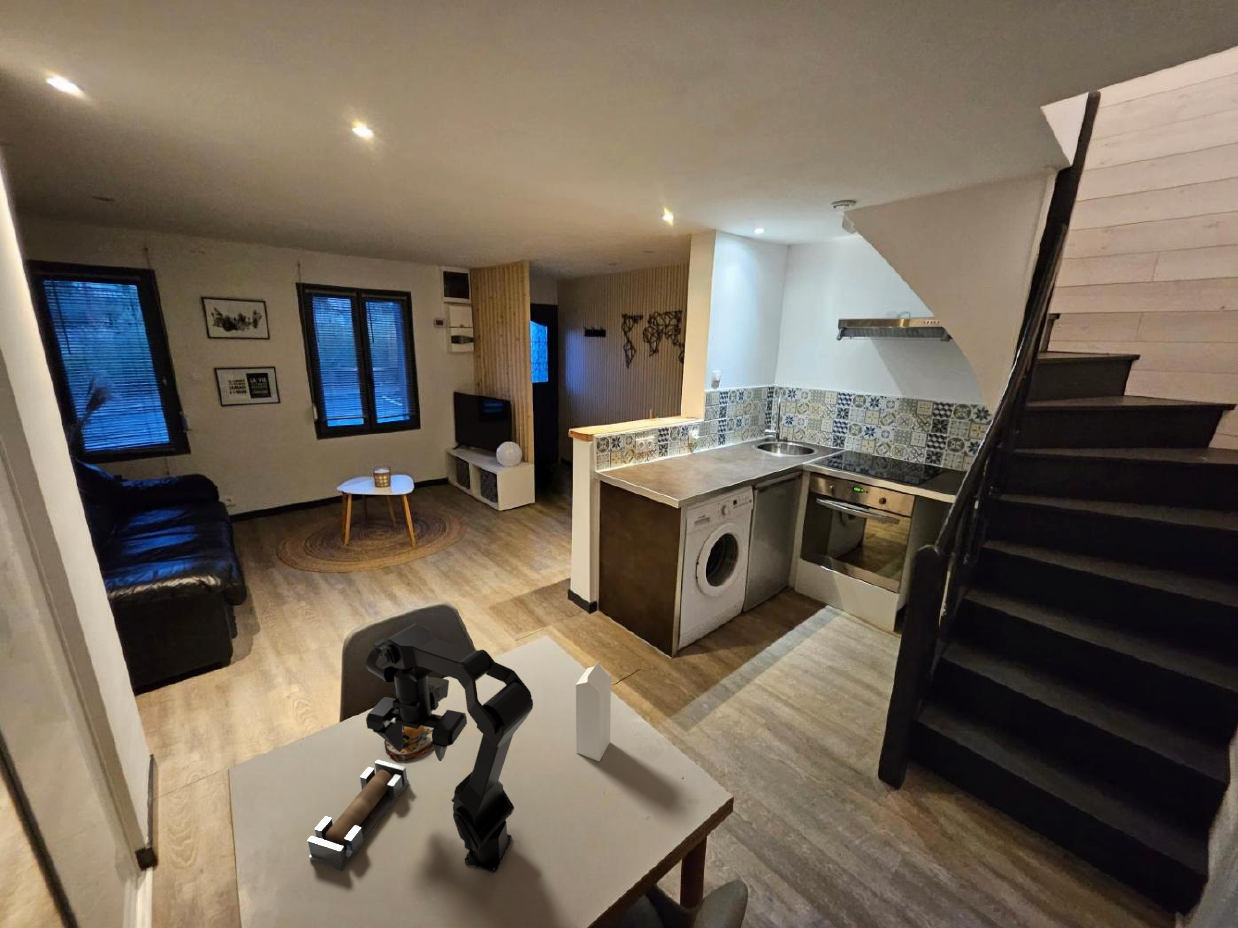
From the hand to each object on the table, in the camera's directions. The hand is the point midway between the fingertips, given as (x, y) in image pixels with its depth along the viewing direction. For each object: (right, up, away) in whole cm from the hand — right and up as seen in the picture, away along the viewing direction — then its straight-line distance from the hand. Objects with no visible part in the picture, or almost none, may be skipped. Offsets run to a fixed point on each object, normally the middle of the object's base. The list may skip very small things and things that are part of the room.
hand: (421, 754), depth 95 cm
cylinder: (-11, -11, -1) cm, 16 cm away
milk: (+34, -8, +16) cm, 38 cm away
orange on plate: (-9, -8, +18) cm, 22 cm away
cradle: (-11, -12, -1) cm, 17 cm away
